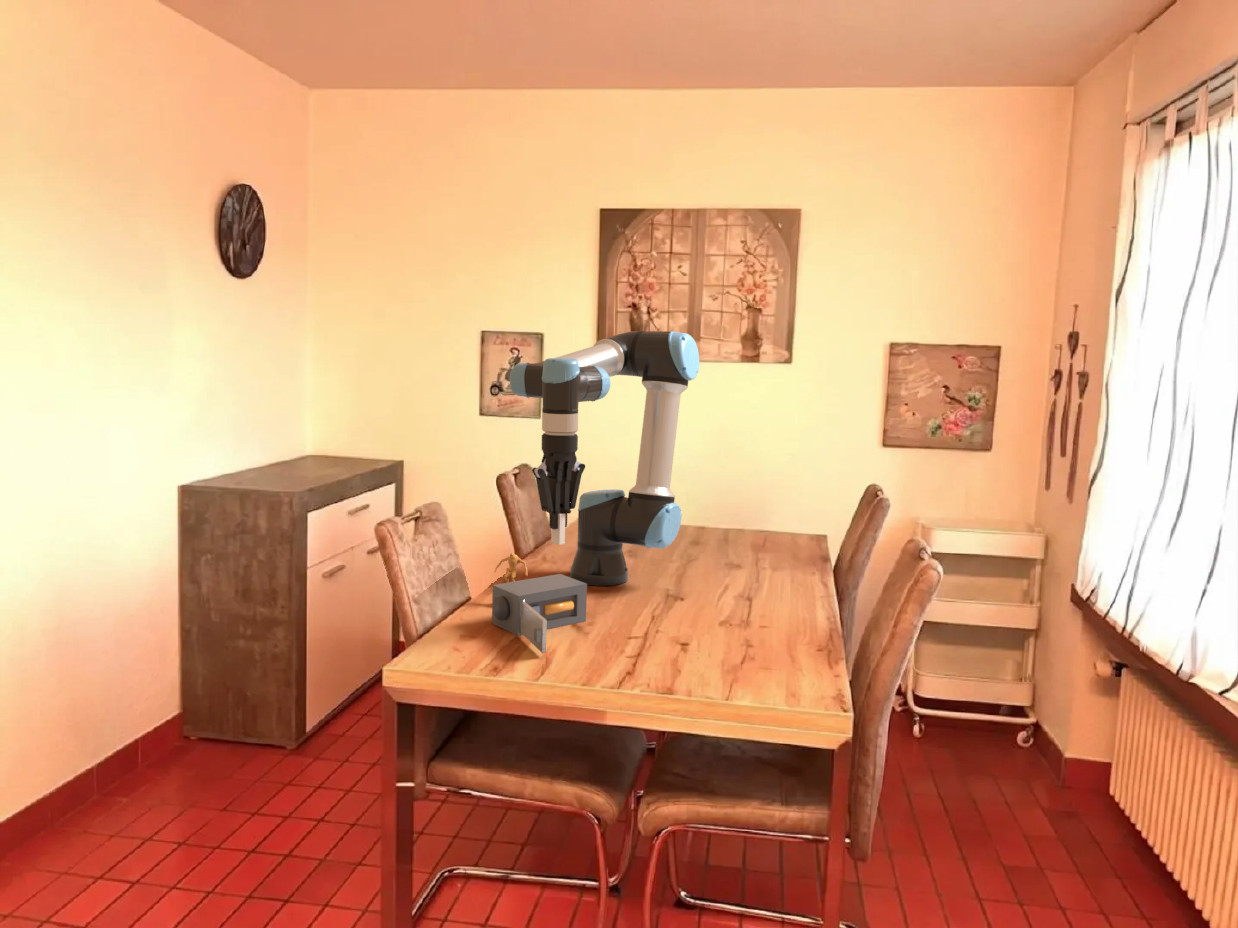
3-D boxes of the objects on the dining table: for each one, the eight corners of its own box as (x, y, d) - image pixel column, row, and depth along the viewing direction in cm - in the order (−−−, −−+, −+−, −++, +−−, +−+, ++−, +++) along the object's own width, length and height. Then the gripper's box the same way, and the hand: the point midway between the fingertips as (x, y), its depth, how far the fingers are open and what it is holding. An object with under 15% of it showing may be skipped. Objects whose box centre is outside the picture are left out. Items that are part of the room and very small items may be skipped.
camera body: (559, 610, 213) (560, 573, 212) (586, 621, 206) (587, 583, 205) (487, 624, 201) (488, 585, 200) (513, 636, 194) (514, 596, 193)
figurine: (487, 605, 215) (488, 554, 213) (498, 598, 221) (499, 549, 219) (520, 609, 213) (521, 558, 211) (531, 603, 218) (532, 553, 217)
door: (546, 654, 182) (547, 618, 181) (537, 655, 181) (538, 619, 180) (523, 631, 195) (523, 598, 194) (514, 632, 194) (515, 599, 193)
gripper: (571, 429, 201) (569, 535, 205) (523, 433, 192) (522, 544, 196) (594, 432, 196) (592, 542, 200) (547, 436, 187) (545, 551, 191)
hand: (558, 543), depth 198 cm, fingers closed
